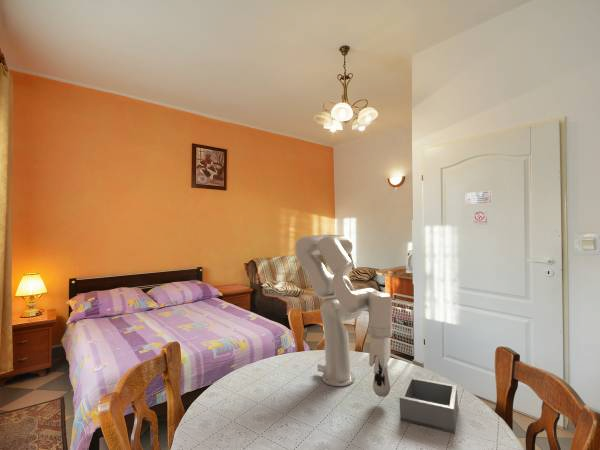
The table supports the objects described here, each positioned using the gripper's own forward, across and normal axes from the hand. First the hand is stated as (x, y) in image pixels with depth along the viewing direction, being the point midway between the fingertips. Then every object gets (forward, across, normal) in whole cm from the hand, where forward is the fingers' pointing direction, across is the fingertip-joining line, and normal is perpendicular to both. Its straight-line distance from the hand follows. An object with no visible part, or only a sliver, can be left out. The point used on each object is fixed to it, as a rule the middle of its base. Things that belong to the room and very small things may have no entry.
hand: (381, 383), depth 108 cm
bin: (+6, 0, +15) cm, 16 cm away
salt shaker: (+3, 0, 0) cm, 3 cm away
